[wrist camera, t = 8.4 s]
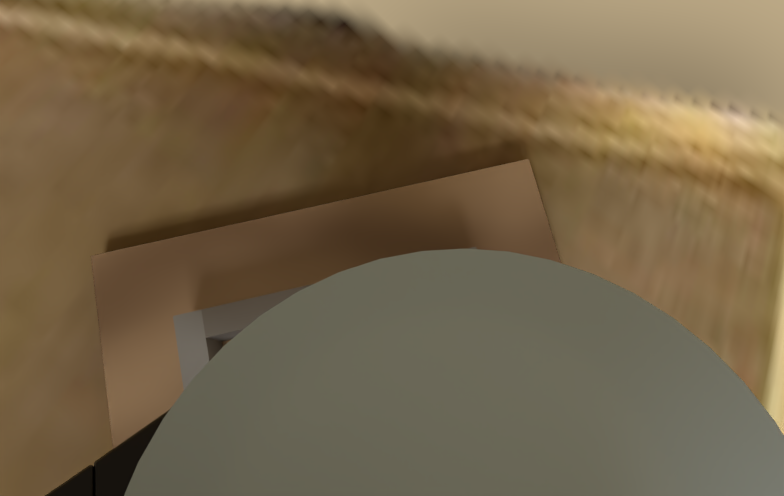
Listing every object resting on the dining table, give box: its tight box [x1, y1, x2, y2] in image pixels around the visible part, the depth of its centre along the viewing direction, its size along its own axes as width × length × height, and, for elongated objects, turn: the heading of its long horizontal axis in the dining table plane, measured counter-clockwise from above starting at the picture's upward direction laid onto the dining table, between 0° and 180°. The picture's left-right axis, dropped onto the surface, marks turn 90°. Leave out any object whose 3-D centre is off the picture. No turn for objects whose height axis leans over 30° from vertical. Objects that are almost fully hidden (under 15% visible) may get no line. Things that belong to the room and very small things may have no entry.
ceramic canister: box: [124, 249, 784, 496], centre depth 10 cm, size 5×5×12 cm
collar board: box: [91, 159, 561, 449], centre depth 21 cm, size 18×18×3 cm
